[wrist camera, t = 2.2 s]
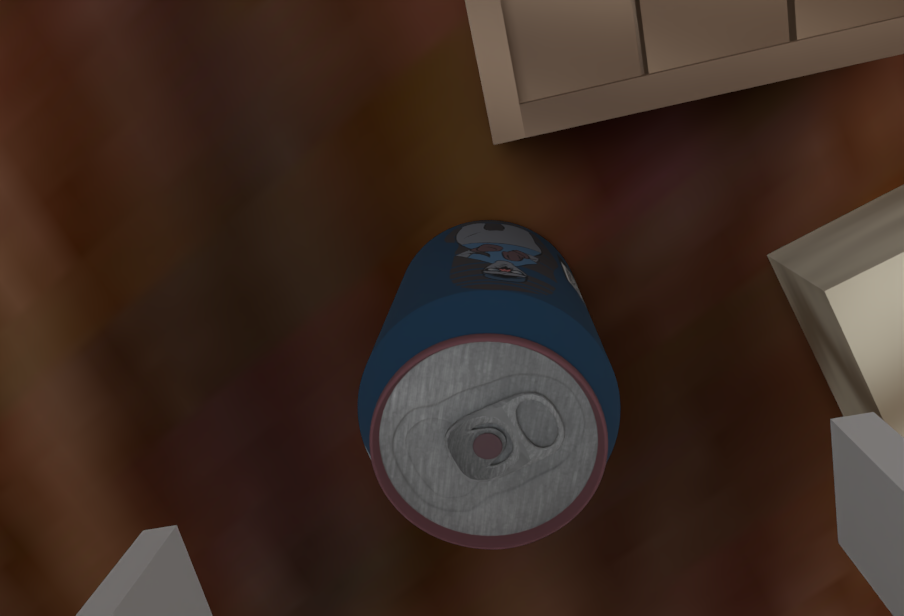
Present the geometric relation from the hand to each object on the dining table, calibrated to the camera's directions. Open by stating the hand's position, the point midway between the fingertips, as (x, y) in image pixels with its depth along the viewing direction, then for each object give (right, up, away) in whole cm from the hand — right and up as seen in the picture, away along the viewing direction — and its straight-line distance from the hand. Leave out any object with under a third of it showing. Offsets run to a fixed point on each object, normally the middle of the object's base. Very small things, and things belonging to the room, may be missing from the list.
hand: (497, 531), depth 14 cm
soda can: (+1, +5, +14) cm, 15 cm away
